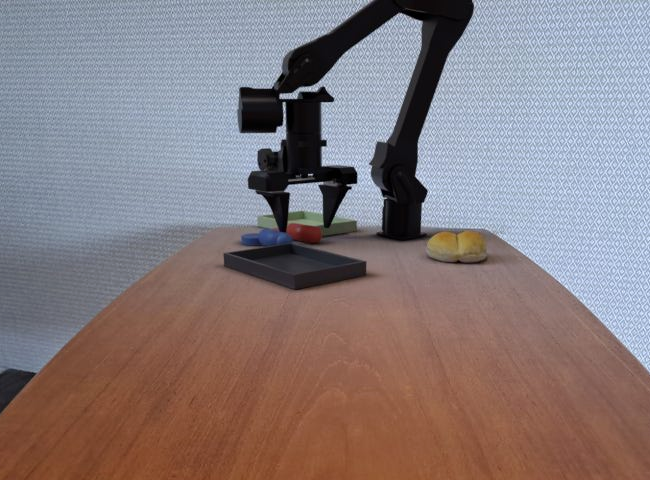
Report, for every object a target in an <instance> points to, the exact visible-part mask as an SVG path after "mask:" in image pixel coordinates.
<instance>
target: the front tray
mask: <svg viewBox="0 0 650 480" xmlns="http://www.w3.org/2000/svg"><path fill="white" fill-rule="evenodd" d="M222 256H223V267H225V268H229V269H232V270H235V271H237V272H241V273H244V274H246V275H250V276H253V277H255V278H259V279H261V280H265V281H267V282H270V283H274V284H277V285H280V286H283V287H285V288H289V289H291V290H299V289H300V290H301V289H304V288H309V287H310V288H311V287H314V286H319V285H320V286H321V285H325V284H329V283H334V282H339V281H340V282H341V281H344V280H349V279H354V278H360V277H363V276H367V261H366V260H362V259H358V258H354V257H350V256H346V255H342V254H339V253H335V252H330V251H326V250H322V249H318V248H316V247H311V246H306V245H302V244H298V243H295V242H293V243H286V244H280V245H273V246H261V247H255V248H246V249H240V250H235V251H228V252H223V253H222Z"/></svg>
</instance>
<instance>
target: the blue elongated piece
mask: <svg viewBox="0 0 650 480" xmlns="http://www.w3.org/2000/svg"><path fill="white" fill-rule="evenodd" d="M240 238H241V239H240V240H241V244H242V245H245V246H263V247H266V246H273V245H280V244H286V243H294V240H292V237H291V236H290V235H289V234H287V233H284V232H280V231H276V230H271V229H269V228H263V229H261V230H260V231H259V232H252V233H245V234H242V235H241V236H240Z"/></svg>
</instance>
